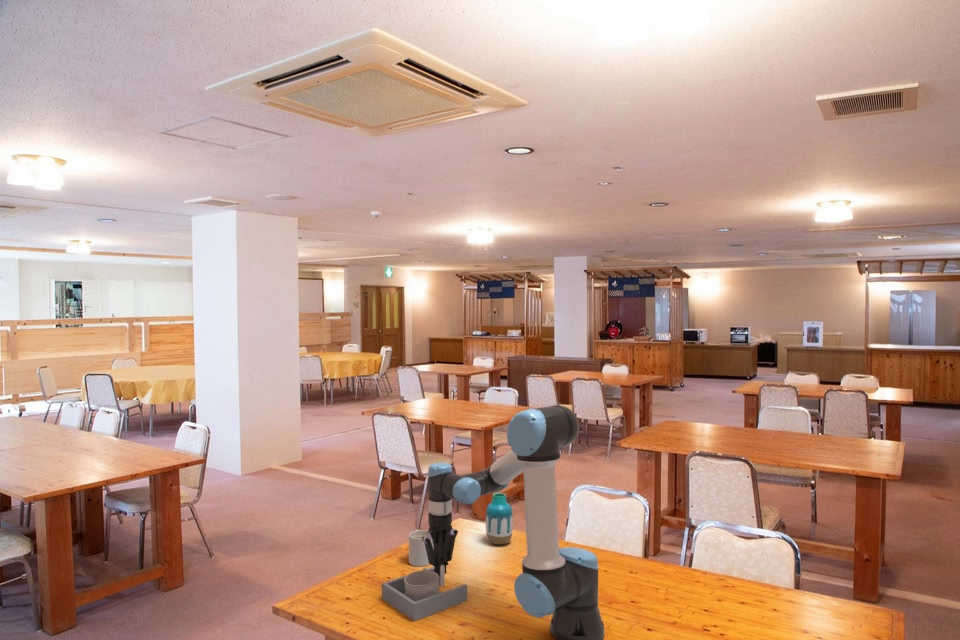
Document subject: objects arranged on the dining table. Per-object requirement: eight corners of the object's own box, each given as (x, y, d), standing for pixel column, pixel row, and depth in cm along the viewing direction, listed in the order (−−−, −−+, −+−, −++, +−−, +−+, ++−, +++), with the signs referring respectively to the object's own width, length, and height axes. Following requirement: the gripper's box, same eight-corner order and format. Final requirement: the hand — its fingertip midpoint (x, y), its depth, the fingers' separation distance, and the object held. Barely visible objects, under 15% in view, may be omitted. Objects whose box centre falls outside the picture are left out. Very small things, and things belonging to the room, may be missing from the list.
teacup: (432, 612, 188) (432, 585, 187) (398, 608, 190) (398, 582, 190) (446, 592, 201) (446, 567, 201) (414, 588, 204) (414, 564, 204)
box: (467, 601, 195) (467, 585, 195) (414, 621, 182) (414, 604, 182) (433, 581, 209) (433, 566, 209) (381, 599, 196) (381, 583, 196)
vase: (481, 540, 246) (481, 492, 246) (505, 536, 251) (505, 489, 250) (493, 549, 236) (493, 499, 236) (517, 545, 241) (517, 496, 241)
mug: (404, 565, 223) (404, 537, 222) (415, 555, 232) (415, 528, 232) (433, 568, 219) (433, 540, 219) (442, 558, 228) (442, 531, 228)
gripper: (449, 505, 206) (449, 575, 207) (416, 513, 198) (417, 586, 198) (463, 510, 200) (463, 583, 201) (430, 519, 192) (430, 594, 192)
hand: (440, 584), depth 200 cm, fingers closed
